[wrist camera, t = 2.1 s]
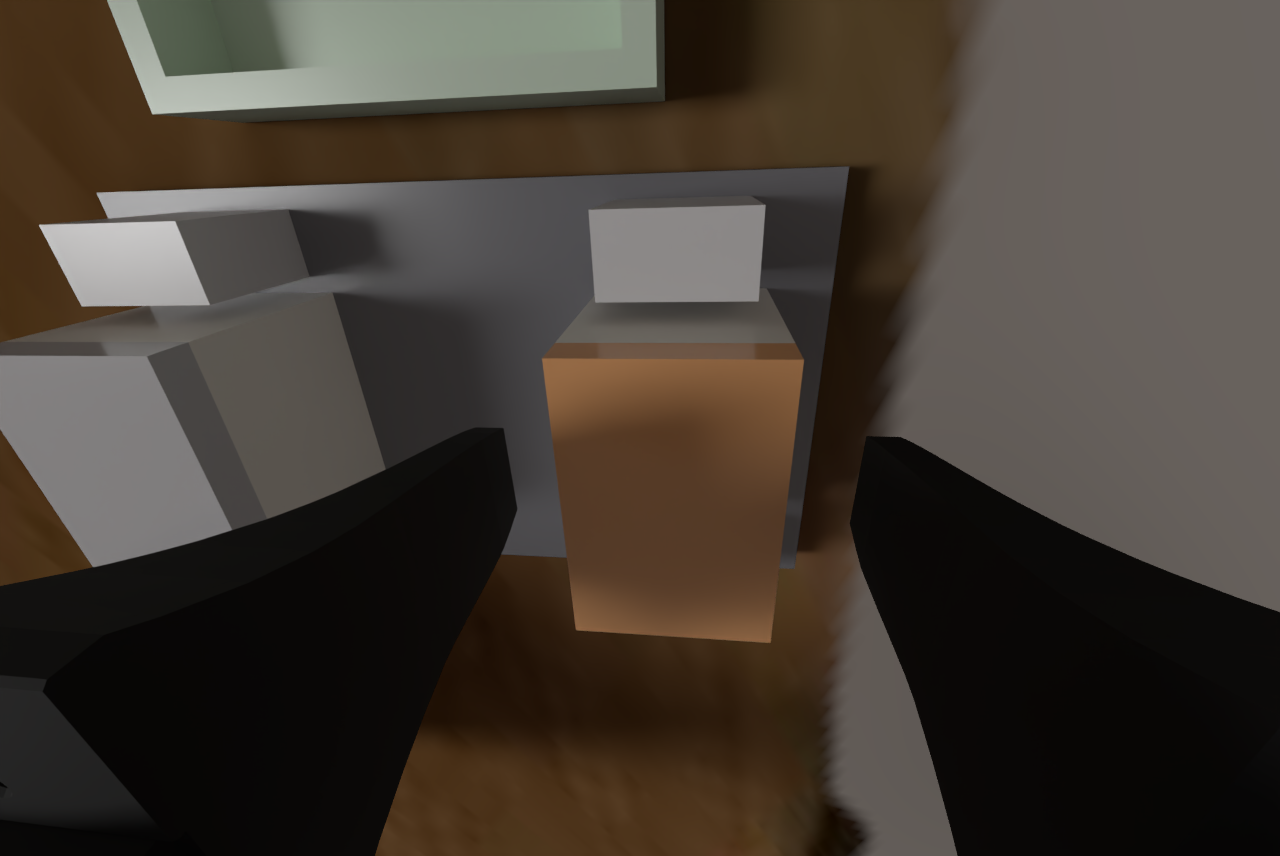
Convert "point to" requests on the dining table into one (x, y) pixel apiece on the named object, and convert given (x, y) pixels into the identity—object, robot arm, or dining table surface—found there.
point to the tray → (389, 55)
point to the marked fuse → (674, 463)
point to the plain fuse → (187, 418)
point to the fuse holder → (482, 285)
